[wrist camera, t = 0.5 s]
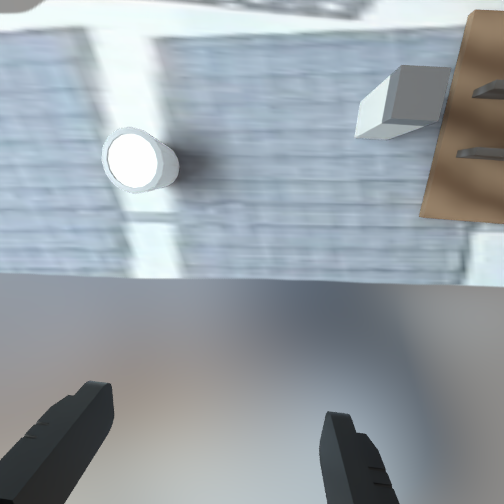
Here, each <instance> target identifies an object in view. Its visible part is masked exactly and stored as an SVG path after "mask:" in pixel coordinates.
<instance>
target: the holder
mask: <svg viewBox="0 0 504 504" xmlns="http://www.w3.org/2000/svg"><path fill="white" fill-rule="evenodd" d="M419 217H423V218H435V219H448V220H460V221H473V222H485V223H498V224H504V11H494V10H474V11H473V12H472V13H471V14H470V15H468V19H467V23H466V27H465V31H464V35H463V39H462V43H461V47H460V51H459V55H458V60H457V64H456V68H455V72H454V76H453V80H452V84H451V88H450V92H449V96H448V100H447V104H446V108H445V113H444V117H443V121H442V125H441V129H440V133H439V137H438V141H437V145H436V149H435V153H434V157H433V161H432V165H431V170H430V174H429V178H428V182H427V186H426V190H425V194H424V198H423V202H422V206H421V210H420V214H419Z"/></svg>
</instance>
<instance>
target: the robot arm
mask: <svg viewBox="0 0 504 504" xmlns="http://www.w3.org/2000/svg"><path fill="white" fill-rule="evenodd" d="M113 419H114V406H113V394H112V386H111V384H110V383H103V382H95V381H88V382H86V383H85V384H84V385H83V386H82V387H81V388H80V389H79V391H78V392H77V393H76V394H75V395H74V396H71V395H68V396H66V397H65V398H63V399H62V400H60V401H59V402H57V403H56V404H54V405H53V406H51V407H50V408H49V410H48V411H47V412H46V413H45V414H44V415H43V416H42V417H41V418H40V419H39V420H38V421H37V423H36V425H33V426H32V427H31V428H30V429H29V431H28V432H27V433H26V434H25V436H24V437H23V438H21V439H20V440H19V441H18V442H17V443H16V444H15V445H14V447H12V449H10V451H9V452H8V453H7V454H6V455H5V456H4V457H3V458H2V459H1V460H0V504H64V503H65V502H66V500H67V498H68V497H69V495H70V494H71V492H72V491H73V489H74V487H75V486H76V484H77V483H78V481H79V479H80V478H81V476H82V475H83V473H84V471H85V470H86V468H87V467H88V465H89V464H90V462H91V460H92V459H93V457H94V456H95V454H96V452H97V451H98V449H99V448H100V446H101V444H102V443H103V441H104V440H105V438H106V436H107V435H108V433H109V431H110V429H111V427H112V424H113ZM319 455H320V464H321V470H322V476H323V481H324V487H325V493H326V498H327V504H399V501H398V499H397V497H396V494H395V491H394V489H392V484H391V481H390V479H389V476H388V474H387V473H386V470H385V466H384V464H383V461H382V459H381V456H380V454H379V451H378V449H377V448H376V447H375V445H374V444H373V443H372V441H371V440H370V439H369V437H368V436H367V435H366V434H363V433H356V430H355V427H354V424H353V422H352V419H351V416H350V415H349V414H345V413H337V412H329V411H328V412H327V413H326V416H325V421H324V425H323V430H322V434H321V439H320V446H319Z"/></svg>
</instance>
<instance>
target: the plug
mask: <svg viewBox="0 0 504 504" xmlns="http://www.w3.org/2000/svg"><path fill="white" fill-rule="evenodd" d="M450 72H451V68H448V67H430V66H411V65H401V66H400V67H399V68H398V69H397V70H395V71H394V72H393V73H392V74H391V75H390V76H389V77H388V78H387V79H385V80H384V81H383V82H382V83H381V84H380V85H379V86H378V87H377V88H375V89H374V90H373V91H372V92H371V93H370V94H369V95H368V96H367V97H365V98H364V99H363V100H362V101H361V102H360V107H359V113H358V119H357V125H356V131H355V137H354V138H362V139H377V140H389V139H391V138H394V137H397V136H400V135H402V134H405V133H408V132H410V131H413V130H416V129H419V128H421V127H424V126H427V125H429V124H432V123H435V122H438V121H439V117H440V113H441V109H442V105H443V100H444V96H445V92H446V88H447V84H448V80H449V76H450Z"/></svg>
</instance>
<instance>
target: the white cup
mask: <svg viewBox="0 0 504 504" xmlns="http://www.w3.org/2000/svg"><path fill="white" fill-rule="evenodd" d="M102 162H103V166H104V170H105V173H106V174H107V176H108V177H109V179H110V180H111V182H112V183H113V184H114V185H116V186H117V187H118V188H120V189H121V190H122V191H126V192H129V193H133V194H137V193H144V192H148V191H152V190H155V189H159V188H163V187H166V186H168V185H170V184H171V183H173V182H174V181H175V179H176V178H177V176H178V173H179V162H178V158H177V156H176V154H175V153H174V151H173V150H172V149H170V148H169V147H168V146H167V145H165V144H163V143H162V142H160V141H159V140H157V139H156V138H154V137H153V136H151V135H150V134H148V133H146V132H145V131H143V130H140V129H137V128H133V127H126V128H120V129H117V130H116V131H115V132H113V133H112V134H111V135H109V136H108V138H107V140H106V142H105V144H104V146H103V151H102Z"/></svg>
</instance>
